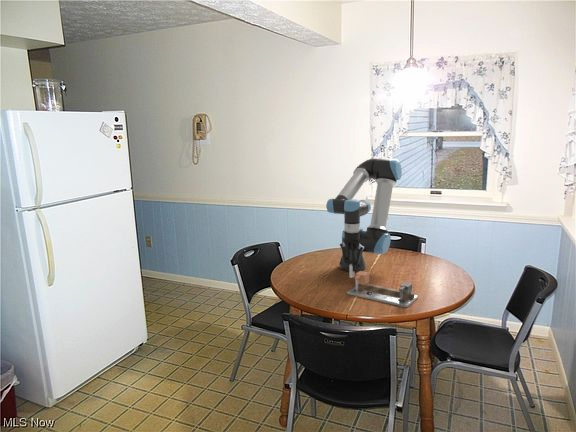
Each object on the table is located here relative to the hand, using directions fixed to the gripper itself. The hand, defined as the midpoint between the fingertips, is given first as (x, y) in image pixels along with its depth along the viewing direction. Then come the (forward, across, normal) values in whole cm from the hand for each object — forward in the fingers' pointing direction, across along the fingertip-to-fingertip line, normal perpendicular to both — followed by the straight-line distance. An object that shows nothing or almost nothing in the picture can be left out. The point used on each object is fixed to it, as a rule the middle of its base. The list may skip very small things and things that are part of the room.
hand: (352, 276), depth 213 cm
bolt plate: (+6, +17, -2) cm, 18 cm away
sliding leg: (+4, +6, -2) cm, 7 cm away
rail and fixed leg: (+4, +17, -2) cm, 18 cm away
